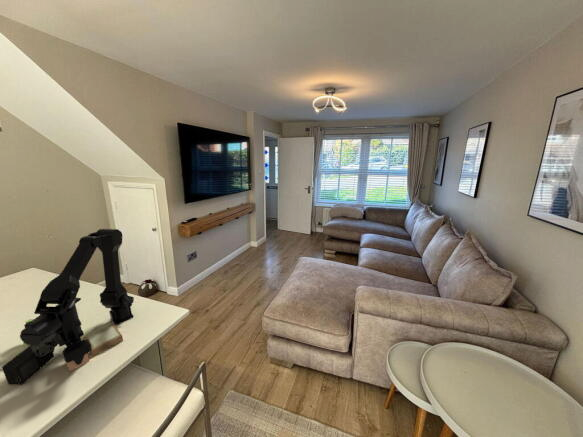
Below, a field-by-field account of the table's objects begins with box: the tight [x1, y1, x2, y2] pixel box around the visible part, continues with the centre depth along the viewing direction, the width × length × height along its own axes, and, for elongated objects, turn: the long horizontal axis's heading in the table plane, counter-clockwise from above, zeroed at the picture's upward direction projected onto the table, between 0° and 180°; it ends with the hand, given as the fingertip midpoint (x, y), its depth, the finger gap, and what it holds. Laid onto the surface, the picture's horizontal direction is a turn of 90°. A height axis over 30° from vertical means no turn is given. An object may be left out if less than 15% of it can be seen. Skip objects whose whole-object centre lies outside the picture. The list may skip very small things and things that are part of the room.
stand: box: [84, 323, 124, 357], centre depth 88 cm, size 9×9×3 cm
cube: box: [65, 353, 90, 372], centre depth 79 cm, size 5×5×5 cm
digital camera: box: [1, 345, 56, 386], centre depth 76 cm, size 10×5×7 cm, turn 0°
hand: (77, 359), depth 80 cm, fingers closed on cube, 5 cm apart
